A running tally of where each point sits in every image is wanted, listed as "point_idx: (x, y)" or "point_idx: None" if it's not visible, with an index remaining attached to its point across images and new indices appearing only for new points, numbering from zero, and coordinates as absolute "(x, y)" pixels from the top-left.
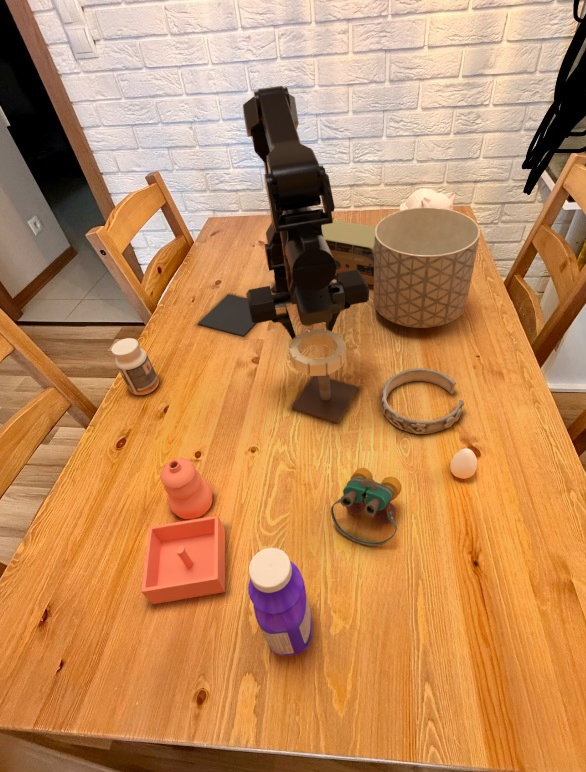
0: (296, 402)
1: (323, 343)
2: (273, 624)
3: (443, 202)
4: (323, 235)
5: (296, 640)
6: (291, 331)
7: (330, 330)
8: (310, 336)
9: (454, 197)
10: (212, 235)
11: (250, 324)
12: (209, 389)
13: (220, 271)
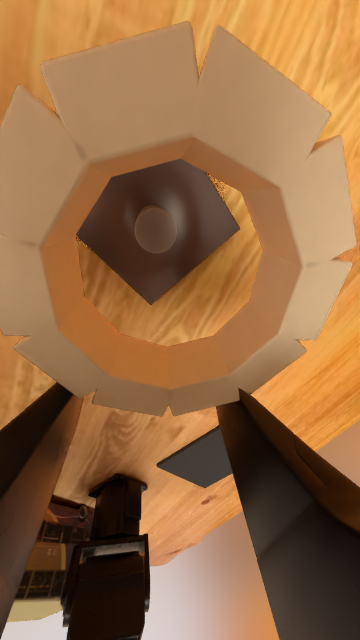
0: (224, 236)
1: (118, 339)
2: None
3: None
4: (20, 605)
5: None
6: (271, 427)
7: (61, 388)
8: (173, 381)
9: None
10: (178, 550)
11: (203, 441)
12: (325, 344)
13: (194, 514)
